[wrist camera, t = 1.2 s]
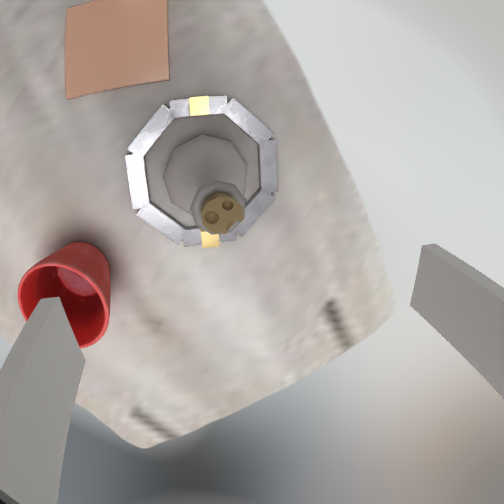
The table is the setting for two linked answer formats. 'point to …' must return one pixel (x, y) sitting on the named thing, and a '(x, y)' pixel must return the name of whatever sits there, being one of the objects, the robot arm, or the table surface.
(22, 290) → the flower pot
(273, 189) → the collar
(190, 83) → the table surface
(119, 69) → the coaster
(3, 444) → the robot arm
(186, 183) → the potion bottle
